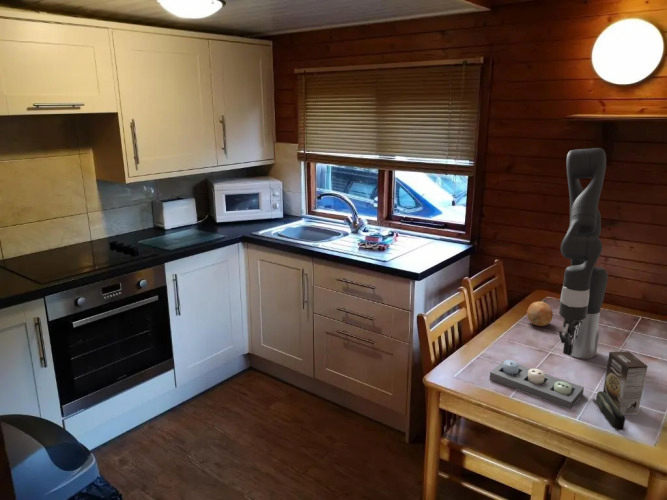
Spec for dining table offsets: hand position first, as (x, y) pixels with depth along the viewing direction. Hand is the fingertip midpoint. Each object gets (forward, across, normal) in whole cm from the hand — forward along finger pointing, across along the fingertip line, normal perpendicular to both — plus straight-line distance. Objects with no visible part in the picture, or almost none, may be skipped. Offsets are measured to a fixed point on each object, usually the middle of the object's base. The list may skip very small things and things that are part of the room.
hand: (567, 353), depth 159 cm
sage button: (+14, 0, 0) cm, 14 cm away
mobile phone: (+15, +1, +13) cm, 20 cm away
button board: (+15, 0, -8) cm, 17 cm away
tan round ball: (+15, -46, -26) cm, 55 cm away
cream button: (+13, 0, -8) cm, 15 cm away
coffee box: (+15, -6, +15) cm, 22 cm away
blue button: (+13, 0, -17) cm, 21 cm away
